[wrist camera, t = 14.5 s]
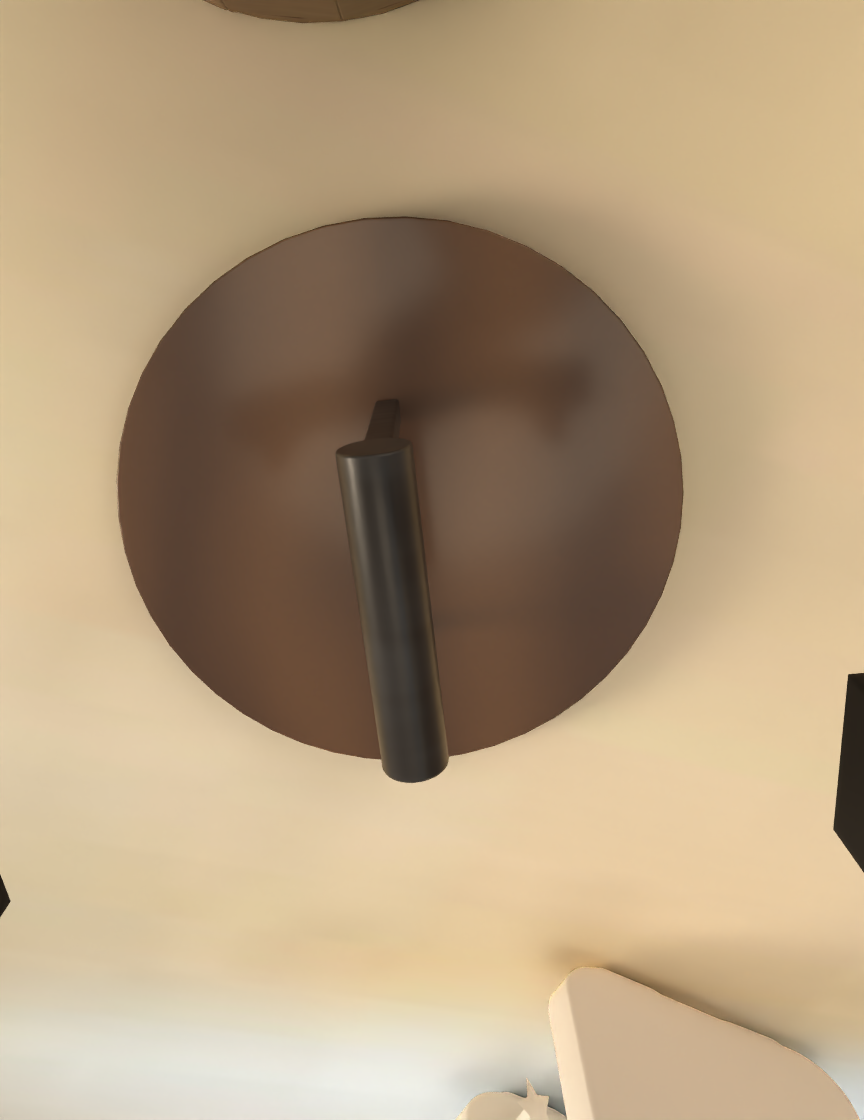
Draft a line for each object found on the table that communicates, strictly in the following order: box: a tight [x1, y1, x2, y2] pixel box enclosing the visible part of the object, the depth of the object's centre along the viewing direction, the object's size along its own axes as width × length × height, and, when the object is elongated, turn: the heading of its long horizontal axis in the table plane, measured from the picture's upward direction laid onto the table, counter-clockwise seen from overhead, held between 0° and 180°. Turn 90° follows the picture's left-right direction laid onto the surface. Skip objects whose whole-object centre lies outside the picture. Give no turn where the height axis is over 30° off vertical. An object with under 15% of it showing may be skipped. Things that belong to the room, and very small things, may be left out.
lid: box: [117, 217, 683, 783], centre depth 22 cm, size 18×18×9 cm
